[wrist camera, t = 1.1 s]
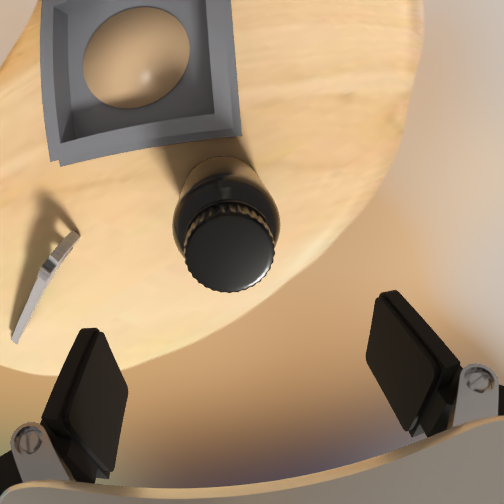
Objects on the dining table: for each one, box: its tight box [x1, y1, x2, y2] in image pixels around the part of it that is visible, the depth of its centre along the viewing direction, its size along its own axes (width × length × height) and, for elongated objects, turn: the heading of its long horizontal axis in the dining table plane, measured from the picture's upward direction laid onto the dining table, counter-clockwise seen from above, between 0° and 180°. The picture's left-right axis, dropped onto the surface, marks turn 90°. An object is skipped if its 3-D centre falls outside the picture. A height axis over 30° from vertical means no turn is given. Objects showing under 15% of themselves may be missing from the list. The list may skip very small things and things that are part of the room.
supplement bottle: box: [172, 156, 280, 293], centre depth 22 cm, size 7×7×12 cm
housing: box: [40, 0, 242, 167], centre depth 19 cm, size 16×16×4 cm
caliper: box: [11, 230, 80, 344], centre depth 26 cm, size 20×1×6 cm, turn 134°
